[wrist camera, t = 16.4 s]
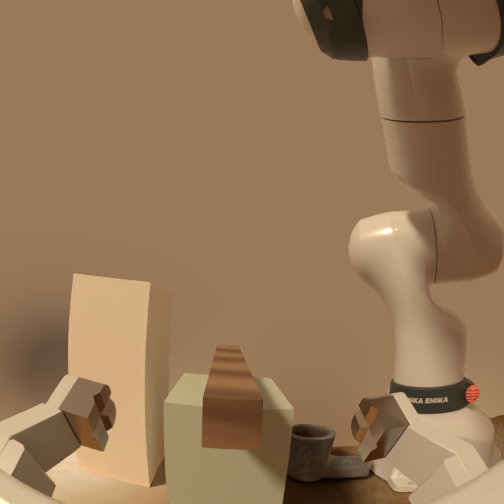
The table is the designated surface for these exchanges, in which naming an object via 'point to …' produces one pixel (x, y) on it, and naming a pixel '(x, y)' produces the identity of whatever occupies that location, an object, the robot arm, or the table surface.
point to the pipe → (320, 456)
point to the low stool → (224, 450)
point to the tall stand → (123, 369)
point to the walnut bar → (231, 403)
